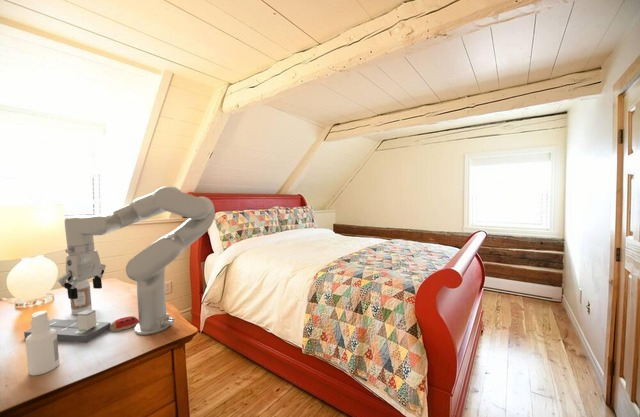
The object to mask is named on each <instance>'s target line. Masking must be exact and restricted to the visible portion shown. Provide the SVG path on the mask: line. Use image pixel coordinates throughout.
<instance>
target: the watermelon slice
mask: <svg viewBox="0 0 640 417" xmlns="http://www.w3.org/2000/svg"><path fill="white" fill-rule="evenodd" d="M137 324H139V318H137V317H136V316H132V315H131V316H124V317H120V318H117V319H116V320H114V321H113V322H111V325H110V328H109V331H111V332H121V331H125V330H128V329H131V328H133V327H134V328H135V327H136V325H137Z"/></svg>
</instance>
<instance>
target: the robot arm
mask: <svg viewBox="0 0 640 417" xmlns="http://www.w3.org/2000/svg"><path fill="white" fill-rule="evenodd" d="M166 212H169V213H171V214H174V215H178V216H180V217H185V218H187V220H185V221H184V222H183V223H182V224H181V225H179V226H178V227H176V228H175V229H174V230H171V232H169V233H166V234H164V235H163V236H161V237H159V238H158V239H157V240H155V241H154V242H152V243H150V244H149V245H148V246H147V247H145V248H144V249H142V251H140V252H138V253H137V254H136V255H134V256H133V257H132V258H131V259H129V260H128V262H127V263H126V266H125V274H126V276H127V277H128V278H129V279H130V280H132V281H134V282H136V296H137V297H136V298H137V312H138V320H139V323H138V324H137V325H136V326H134V332H135V334H136V335H139V336H140V335H141V336H144V335H145V336H146V335H152V334H157V333H160V332H162V331H164V330H166V329H168V328H169V327H170V326H173V325H174V324H175V320H176V318H175V317H170V313H168V312H167V300H166V281H165V280H166V279H165V278H166V277H165V276H166V275H165V273H166V267H167V266H169V265H170V264H171V263H172V262H174V261H175V260H176V259H178V257H179V256H180V255H181V254H182V253H183V252H184V251H185V250H186V249H187V248H189V246H191V245H192V244H193V243H195V242H196V241H197V240H199V239H200V238H201V237H202V236H203V235H204V234H206V233H207V231H208V230H210V228H211V226H212V225H213V223H214V220H215V215H216V211H215V206H214V203H213V201H212V200H211V199H210V198H209V197H206V196H203V195H202V196H195V195H193V194H188V193H185V192H182V191H181V189H180V188H178V187H176V186H162V187H160V188H158V189H156V190H155V191H154V192H151V193H149V194H145V195H143V196H141V197H138V198H136V199H133V200H132V201H131V202H130V203H129V204H128V205H125V206H123V207H120V208H119V209H115V210H112V211H110V212H106V213H101V214H97V215H92V216H89V215H73V216H72V215H71V216H68V217H66V218H65V219H64V230H65V231H64V232H65V238H66V249H65V253H66V254H67V255H66V258H65V259H66V260H65V274H63V275H62V276H61V277H60V278H58V280H57V281H58V283H59V284H60V285H61V287H63V288H64V289H66V290H67V298H68V300H70V299H77V298H78V294H77V288H75V286H76V284H77V283H78V282H81V281H84V280H89V279H92V287H93V289H102V288H103V285H102V284H103V283H102V278H103V275H104V273H105V269H106V268H107V267H106V266H107V265H106V264H103V263H101V260H100V256H99V253H98V251H97V249H95V239H94V236H104V235H108V234H110V233H112V232H115V231H119V230H121V229H123V228H125V227H128V226H131V225H133V224H135V223H138V222H140V221H146V220H148V219H150V218H153V217H155V216H158V215H160V214H163V213H166ZM72 282H73V283H72ZM71 284H72V285H71Z"/></svg>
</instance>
